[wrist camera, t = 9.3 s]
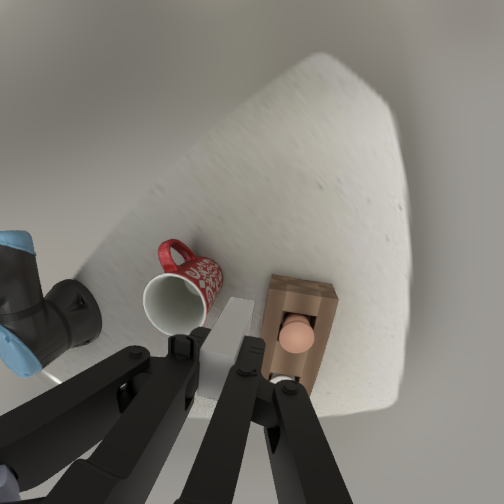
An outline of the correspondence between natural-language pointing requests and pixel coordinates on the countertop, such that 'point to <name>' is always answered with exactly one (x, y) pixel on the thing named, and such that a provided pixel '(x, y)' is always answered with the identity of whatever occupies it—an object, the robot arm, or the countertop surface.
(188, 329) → the mug
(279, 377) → the cream plug
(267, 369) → the walnut block
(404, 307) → the countertop surface
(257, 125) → the countertop surface
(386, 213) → the countertop surface
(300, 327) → the terracotta plug
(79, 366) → the countertop surface
